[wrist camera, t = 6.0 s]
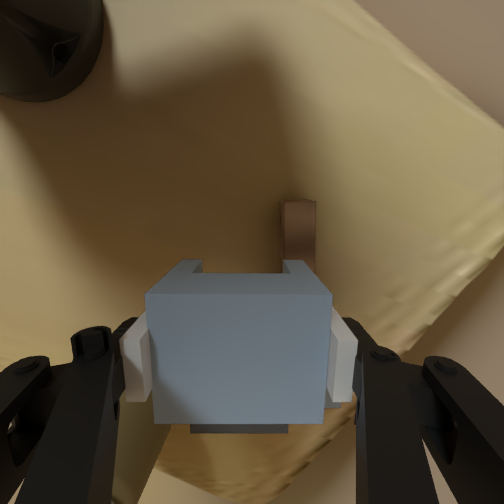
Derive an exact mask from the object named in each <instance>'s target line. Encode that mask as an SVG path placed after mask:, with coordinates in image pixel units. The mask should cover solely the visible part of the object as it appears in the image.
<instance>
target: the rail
mask: <svg viewBox="0 0 504 504" xmlns="http://www.w3.org/2000/svg"><path fill="white" fill-rule="evenodd" d="M280 218H281V273H283V260H303V261H304V262H305V263H306V265H307V266H308V267H309V268H310V269H311V270H312V271H313V273H314V274H315V233H316V201H312V200H287V201H280Z"/></svg>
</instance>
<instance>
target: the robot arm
mask: <svg viewBox="0 0 504 504" xmlns="http://www.w3.org/2000/svg"><path fill="white" fill-rule="evenodd" d="M102 35H103V12H102V5H101V0H0V94H1V95H4V96H7V97H9V98H13V99H16V100H21V101H27V102H43V101H49V100H53V99H56V98H59V97H62V96H64V95H66V94H67V93H69V92H71V91H72V90H74V89H75V88H76V87H77V86H79V85H80V84H81V83H82V82H83V80H84V79H85V78H86V77H87V75H88V74H89V73H90V71H91V69H92V68H93V66H94V64H95V62H96V59H97V56H98V54H99V50H100V46H101V42H102ZM70 339H71V345H72V351H73V358H74V359H73V361H72V362H71V363H67V364H61V365H56V366H50V361H49V358H48V357H46V356H33V357H32V356H31V357H26V358H23V359H21V360H19V361H17V362H15V363H13V364H11V365H10V366H8V367H7V368H5V369H4V370H3V371H2V372H0V504H8V502H9V501H10V499H11V498H12V496H13V495H14V493H15V492H16V490H17V488H18V487H19V486H20V484H21V483H22V481H23V479H24V478H25V479H24V481H23V484H22V486H21V488H20V491H19V493H18V496H17V498H16V501H15V503H14V504H111V498H112V488H113V478H114V467H115V457H116V447H117V437H118V426H119V416H120V401H119V398H120V396H121V395H122V393H123V392H124V390H125V396H126V402H146V400H147V398H148V396H149V394H150V392H151V390H152V388H153V382H152V369H151V356H150V342H149V329H148V328H147V320H146V310H145V311H144V313H143V314H142V315H141V316H140V317H132V318H130V319H128V320H126V321H124V322H123V323H122V324H121V325H120V326H119V327H118V328H117V329H116V330H115V331H114V332H113V334H111V329H110V328H108V327H105V326H95V327H90V328H86V329H84V330H81V331H79V332H77V333H75V334H74V335H73V336H72V337H71V338H70ZM326 387H327V389H328V392H329V394H330V397H331V399H332V402H351V401H352V392H353V391H354V392H355V394H356V396H357V405H356V413H355V422H354V424H355V425H356V504H439V501H438V497H437V494H436V490H435V486H434V482H433V479H432V475H431V471H430V467H429V464H428V460H427V456H426V452H425V449H424V445H423V441H424V442H425V444H426V446H427V448H428V450H429V451H430V453H431V455H432V457H433V459H434V461H435V462H436V464H437V466H438V468H439V470H440V471H441V473H442V475H443V477H444V478H445V481H446V482H447V484H448V486H449V488H450V490H451V491H452V493H453V495H454V497H455V499H456V501H457V502H458V504H504V406H503V405H502V404H501V403H500V402H499V401H498V400H497V399H496V398H495V397H494V396H493V395H492V394H491V393H490V392H489V391H488V390H487V389H486V388H485V387H484V386H483V385H482V384H481V383H480V382H479V381H478V380H477V379H476V378H475V377H474V376H473V375H472V374H471V373H470V372H469V371H468V370H467V369H466V368H464V367H463V366H462V365H460V364H459V363H457V362H455V361H453V360H451V359H449V358H448V359H447V358H446V357H439V356H428V357H426V358H425V360H424V363H423V366H419V365H414V364H409V363H405V362H401V359H400V357H399V356H398V355H397V354H396V353H395V352H394V351H392V350H390V349H388V348H385V347H382V346H378V345H377V344H376V342H375V341H374V340H373V339H372V338H371V336H370V335H369V334H367V332H366V331H365V329H363V327H362V326H361V325H360V323H359V322H357V321H355V320H354V319H352V318H341V317H340V315H339V314H338V313H337V311H336V310H335V309H334V307H333V306H332V313H331V327H330V340H329V353H328V366H327V379H326ZM10 423H12V426H11V427H10V428H9V425H10ZM8 428H9V429H8ZM422 439H423V441H422Z"/></svg>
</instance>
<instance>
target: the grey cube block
mask: <svg viewBox="0 0 504 504" xmlns="http://www.w3.org/2000/svg"><path fill="white" fill-rule="evenodd" d="M332 300H333V295H332V293H331V292H330V291H329V290H328V289H327V288H326V287H325V285H324V284H323V283H322V282H321V281H320V280H319V278H318V277H317V276H316V275H315V274H314V273H313V271H312V270H311V269H310V268H309V267H308V266H307V265H306V263H305V262H304V261H303V260H283V273H203V269H202V259H182V260H181V261H180V262H179V263H178V264H177V265H176V266H175V267H174V268H172V269H171V270H170V271H169V272H168V273H167V274H166V275H165V276H164V277H163V278H161V279H160V280H159V281H158V282H157V283H156V284H155V285H154V286H153V287H152V288H151V289H149V290H148V291H147V292H146V293H145V307H146V320H147V328H148V329H149V342H150V356H151V369H152V382H153V388H152V398H153V411H154V424H190V433H288V424H323V419H324V406H325V393H326V379H327V366H328V353H329V340H330V327H331V313H332Z"/></svg>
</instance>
